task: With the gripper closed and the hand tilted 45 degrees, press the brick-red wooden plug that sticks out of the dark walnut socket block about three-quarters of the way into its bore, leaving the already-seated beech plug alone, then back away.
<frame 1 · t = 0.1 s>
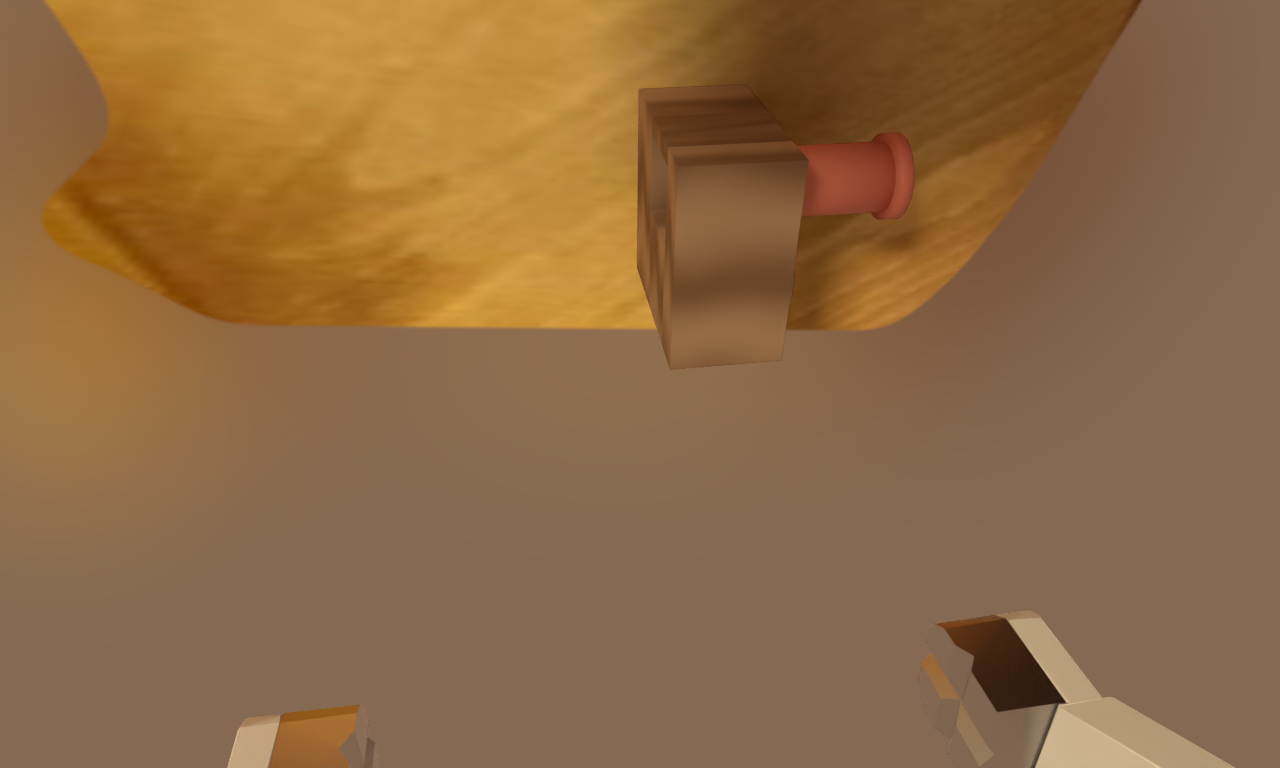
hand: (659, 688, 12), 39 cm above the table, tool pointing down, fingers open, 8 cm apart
socket block: (688, 181, 50), on the table
red plug: (797, 181, 44), point 6 cm above the table, slide at 0.0 cm
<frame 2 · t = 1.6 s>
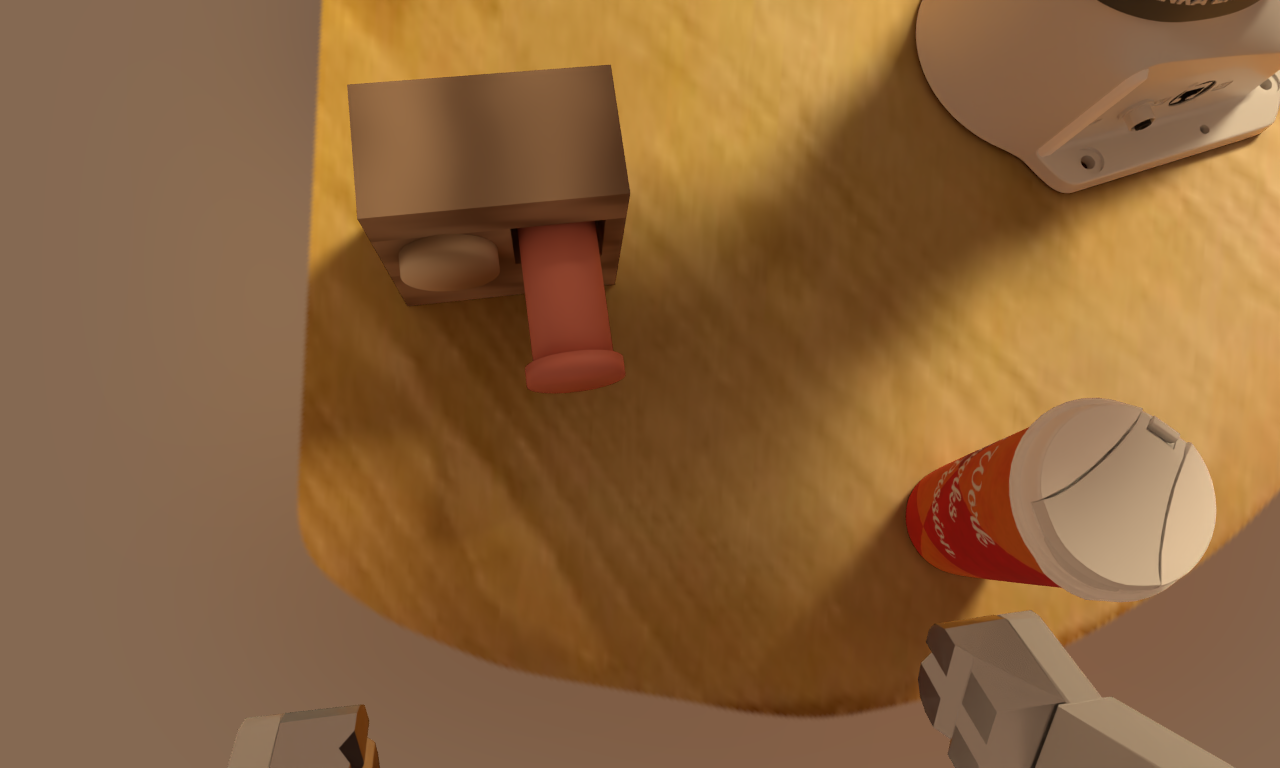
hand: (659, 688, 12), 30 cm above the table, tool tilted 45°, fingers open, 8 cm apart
paper cup: (953, 521, 44), on the table
socket block: (506, 242, 46), on the table
red plug: (562, 269, 39), point 6 cm above the table, slide at 0.0 cm
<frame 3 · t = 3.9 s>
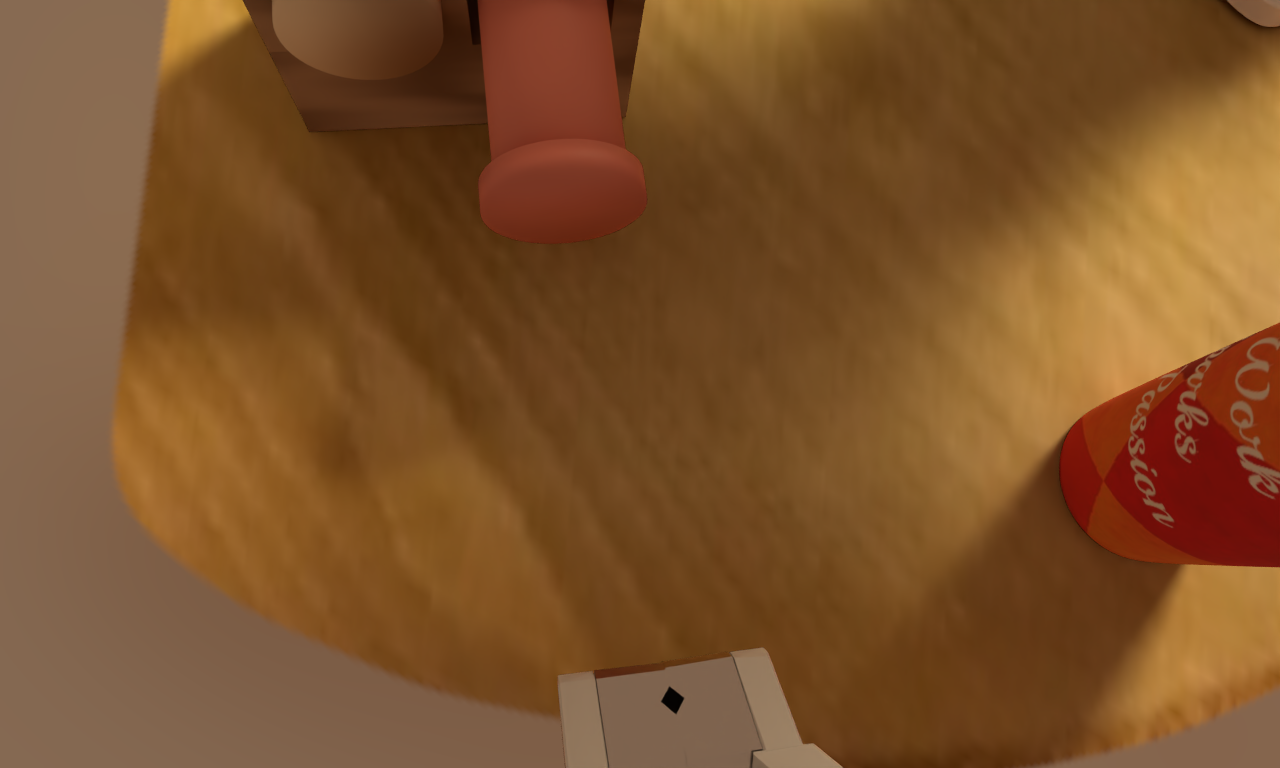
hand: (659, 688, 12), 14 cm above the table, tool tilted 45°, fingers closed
paper cup: (1129, 482, 29), on the table
socket block: (465, 49, 30), on the table
red plug: (545, 35, 24), point 7 cm above the table, slide at 0.0 cm
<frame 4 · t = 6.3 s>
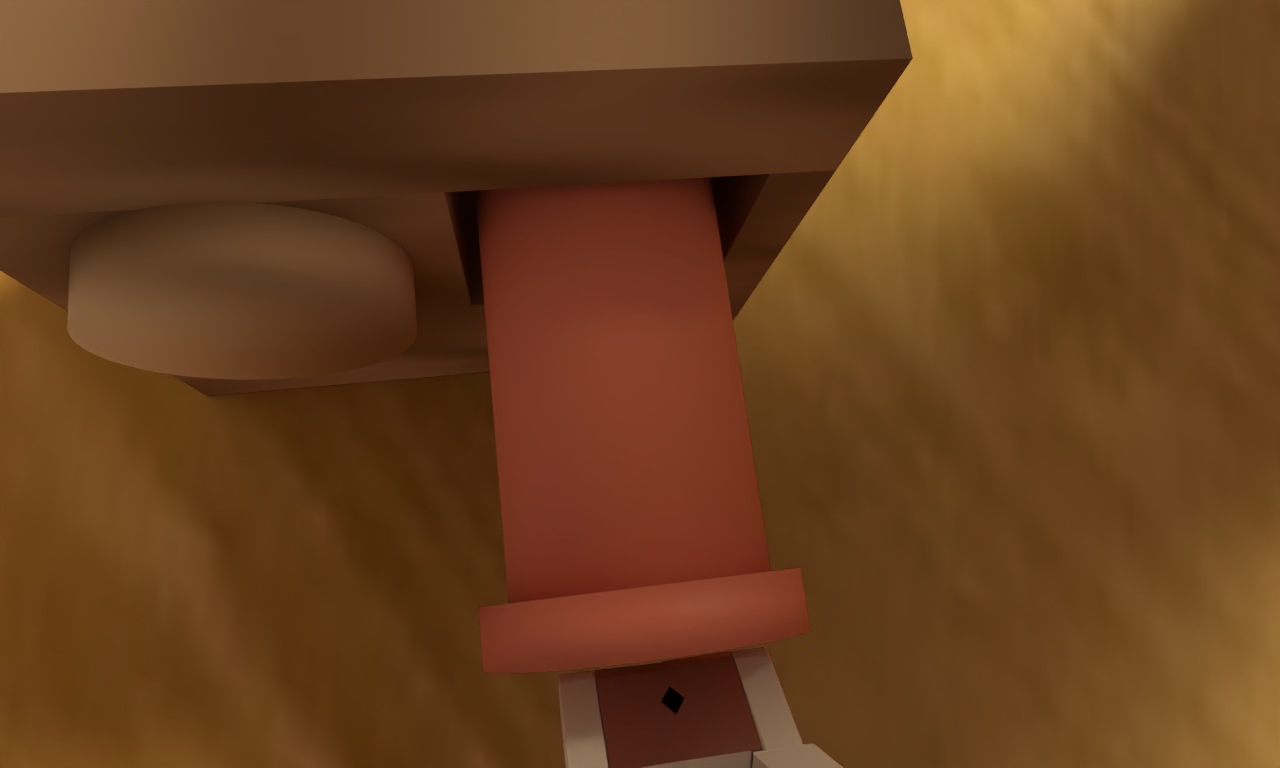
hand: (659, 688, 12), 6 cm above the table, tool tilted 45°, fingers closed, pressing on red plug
socket block: (459, 247, 19), on the table
red plug: (604, 281, 13), point 6 cm above the table, slide at 0.8 cm, touching gripper
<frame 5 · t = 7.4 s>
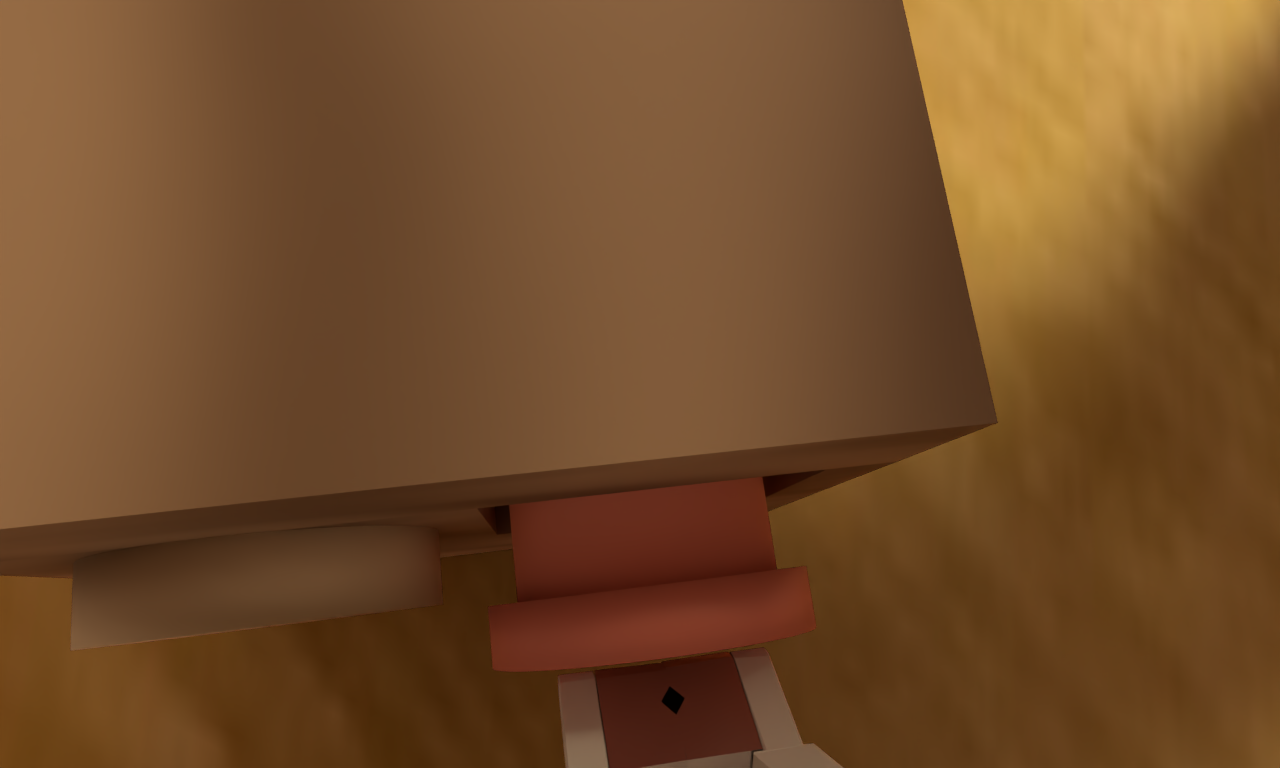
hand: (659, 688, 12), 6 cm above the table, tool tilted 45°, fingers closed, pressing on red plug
socket block: (478, 414, 19), on the table
red plug: (610, 282, 13), point 7 cm above the table, slide at 4.7 cm, touching gripper
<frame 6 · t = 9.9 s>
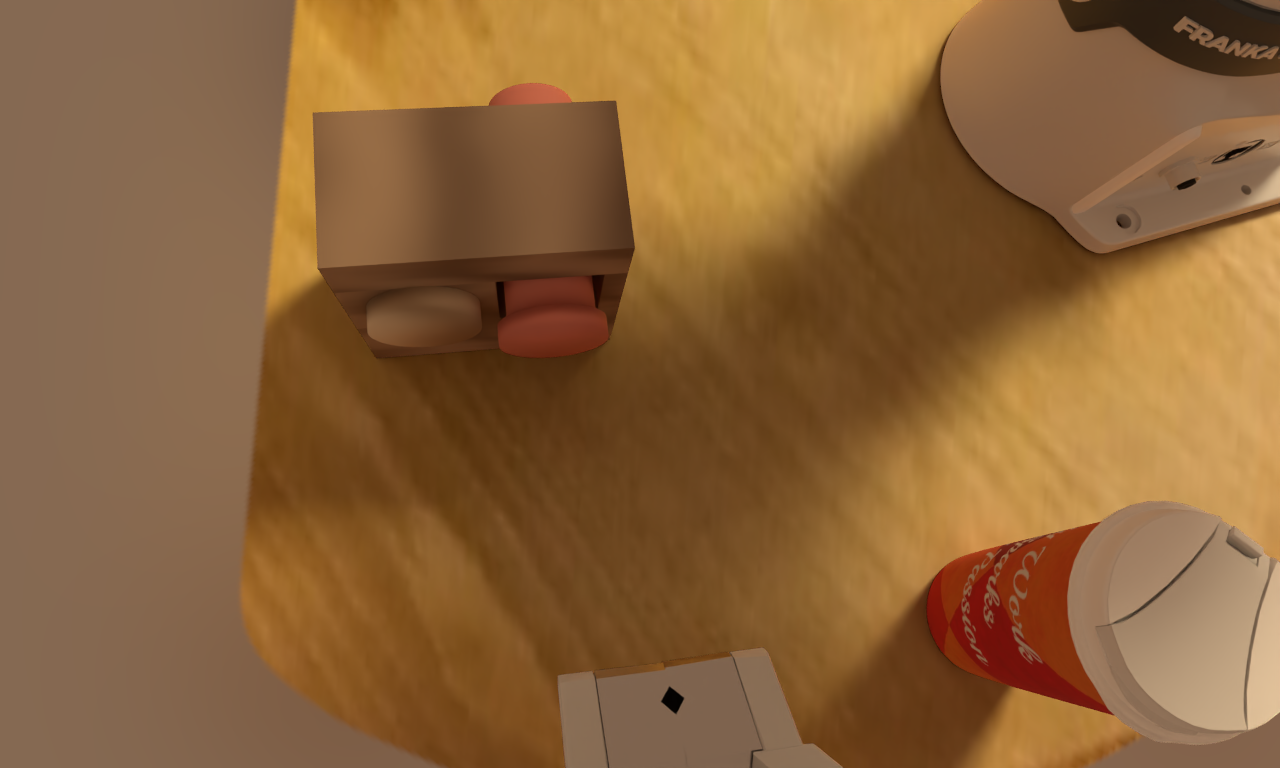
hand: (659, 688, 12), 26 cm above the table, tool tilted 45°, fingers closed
paper cup: (979, 615, 40), on the table
socket block: (490, 289, 41), on the table
red plug: (542, 220, 35), point 6 cm above the table, slide at 4.7 cm
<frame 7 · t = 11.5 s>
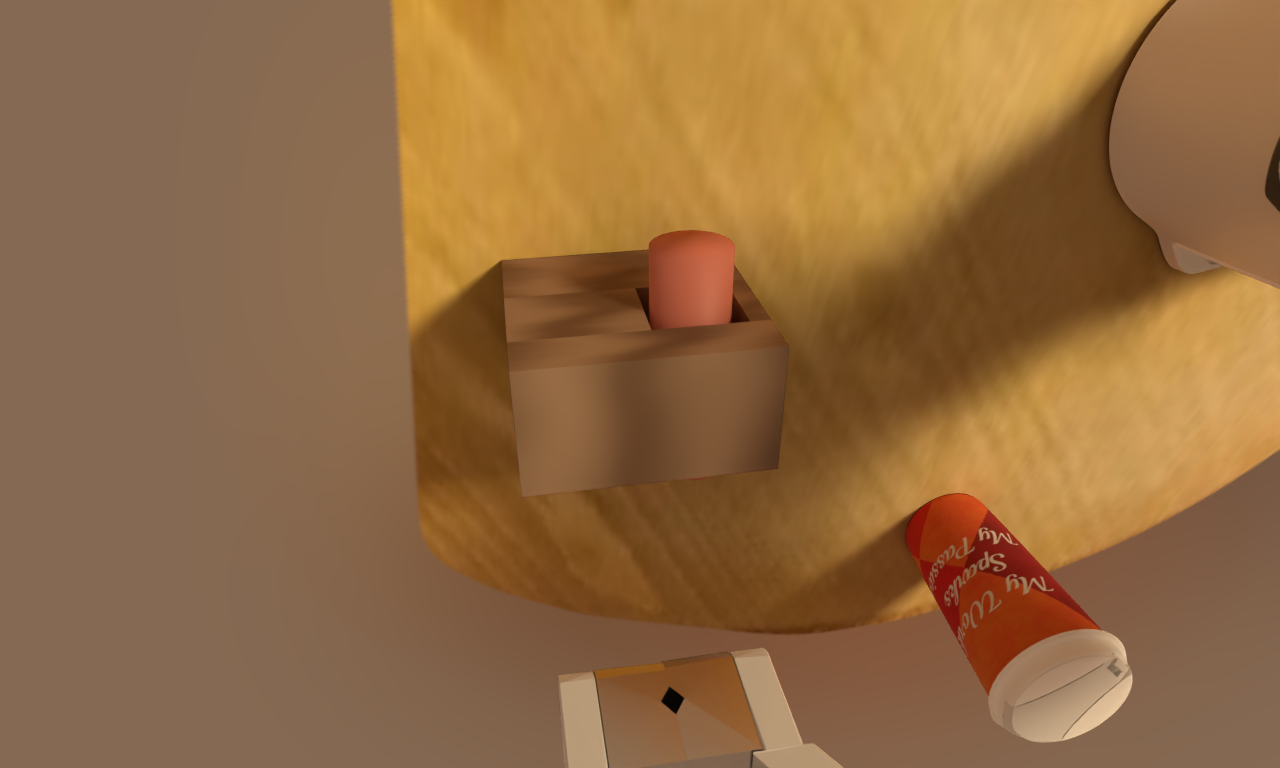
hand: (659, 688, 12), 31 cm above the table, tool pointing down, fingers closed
paper cup: (942, 525, 56), on the table
socket block: (614, 306, 43), on the table
red plug: (689, 356, 38), point 6 cm above the table, slide at 4.7 cm
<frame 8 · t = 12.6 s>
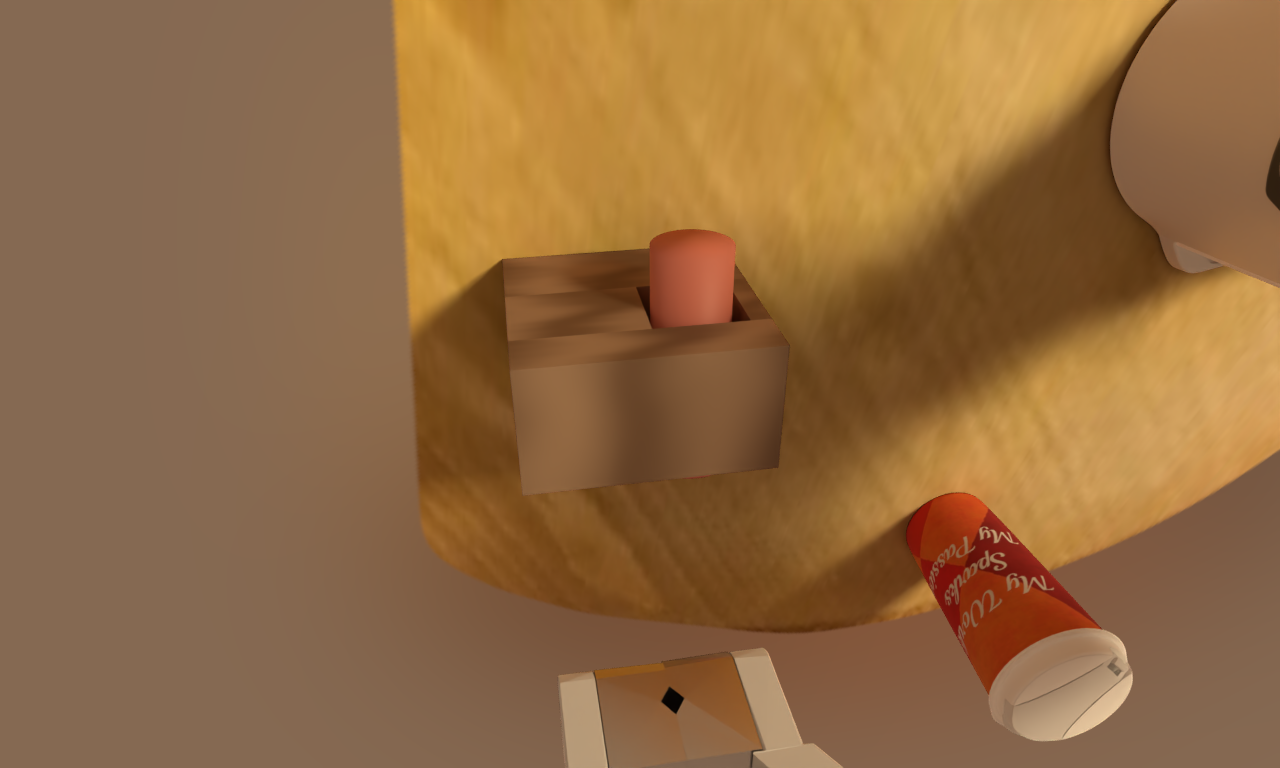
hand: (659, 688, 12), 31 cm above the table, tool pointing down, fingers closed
paper cup: (943, 524, 56), on the table
socket block: (615, 305, 43), on the table
red plug: (689, 355, 38), point 6 cm above the table, slide at 4.7 cm
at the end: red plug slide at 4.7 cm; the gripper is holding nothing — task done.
